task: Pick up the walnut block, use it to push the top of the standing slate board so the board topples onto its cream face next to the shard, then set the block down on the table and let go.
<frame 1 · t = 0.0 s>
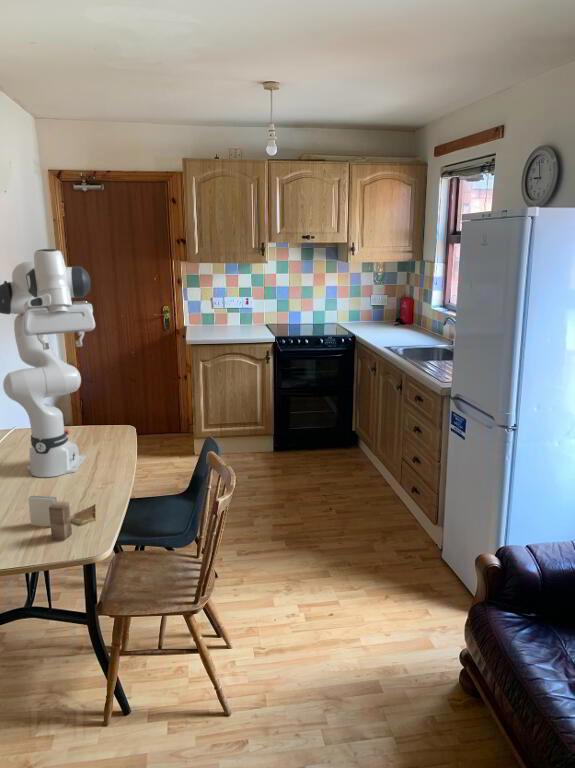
hand: (63, 347, 173), 52 cm above the table, tool tilted 20°, fingers open, 8 cm apart
slate board: (45, 525, 176), on the table
walnut block: (62, 536, 169), on the table
shard: (82, 518, 181), on the table
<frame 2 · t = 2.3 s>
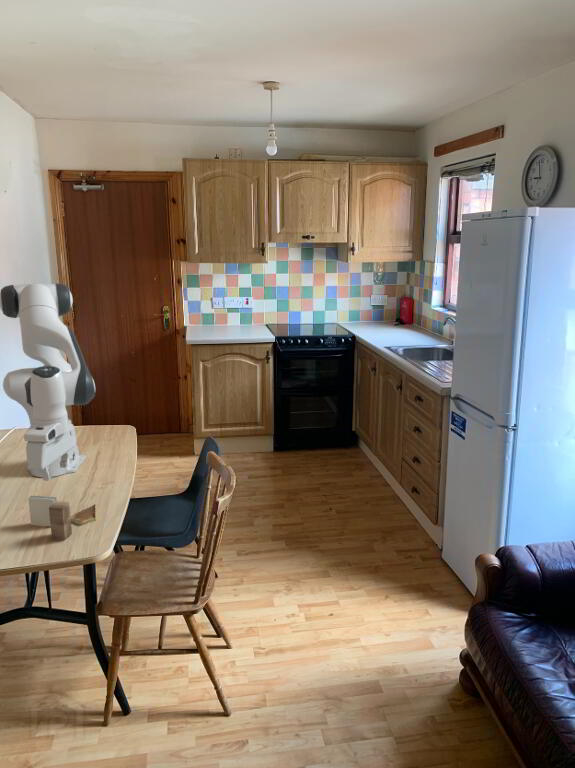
hand: (55, 473, 164), 20 cm above the table, tool pointing down, fingers open, 8 cm apart
nothing on the table moved.
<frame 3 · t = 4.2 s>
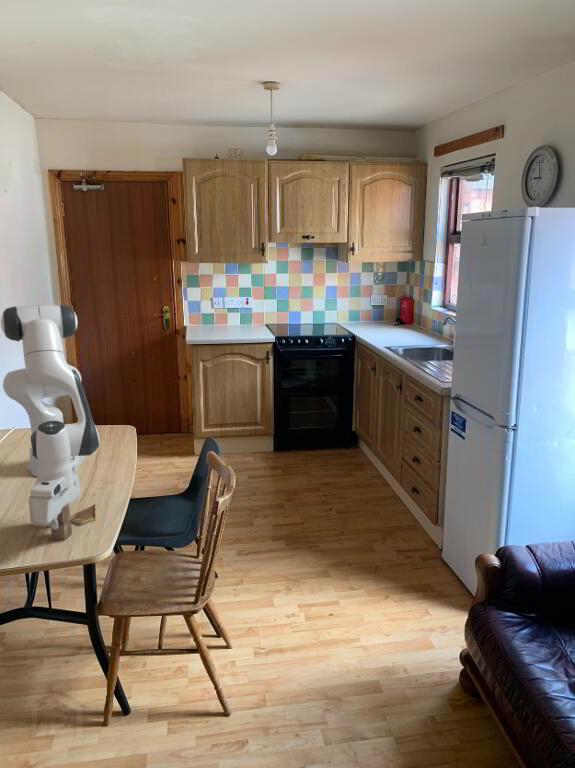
hand: (60, 523, 168), 4 cm above the table, tool pointing down, fingers closed on walnut block, 4 cm apart
walnut block: (62, 536, 169), on the table, touching gripper
everything else where it was.
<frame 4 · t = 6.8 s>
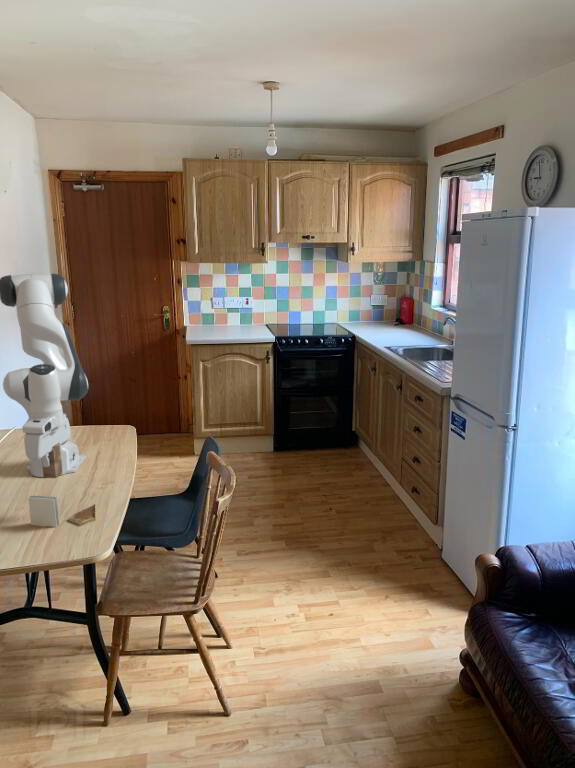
hand: (51, 462, 178), 17 cm above the table, tool pointing down, fingers closed on walnut block, 4 cm apart
walnut block: (53, 475, 179), point 13 cm above the table, touching gripper
everything else where it was.
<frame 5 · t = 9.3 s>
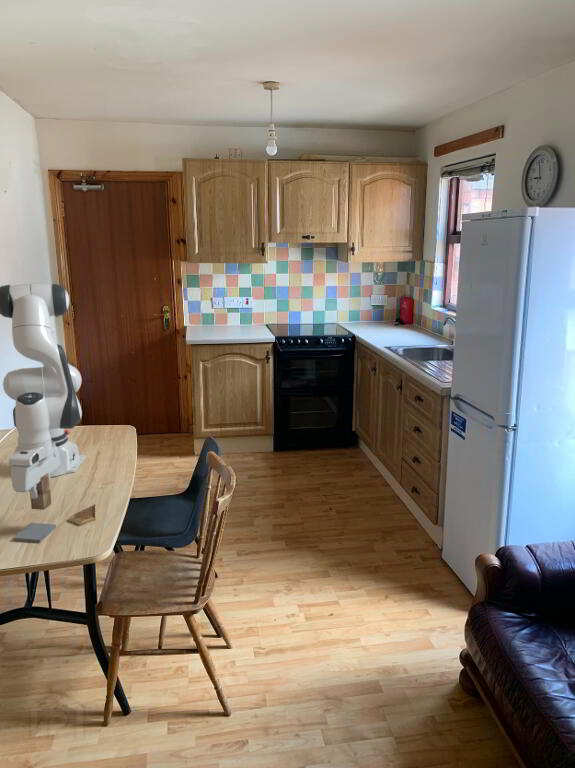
hand: (40, 493, 172), 11 cm above the table, tool pointing down, fingers closed on walnut block, 4 cm apart
slate board: (43, 525, 175), on the table, tilted 90°
walnut block: (41, 506, 173), point 7 cm above the table, touching gripper
everything else where it was.
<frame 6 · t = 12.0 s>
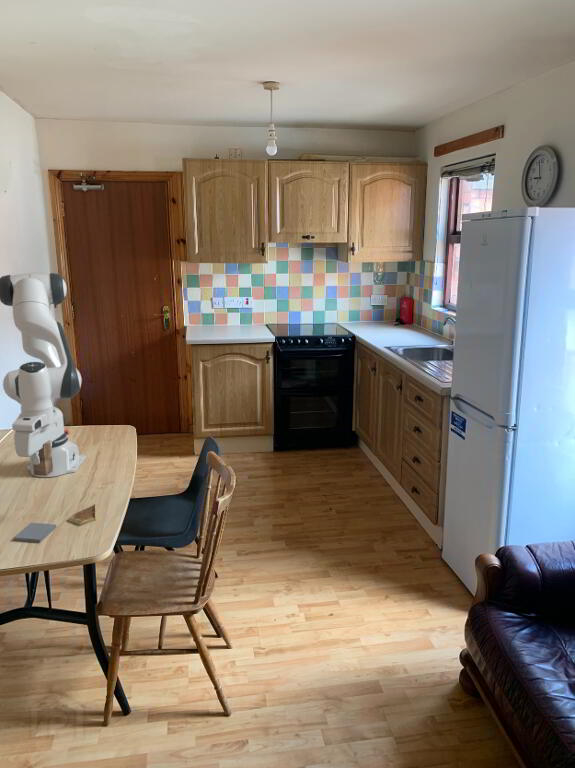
hand: (42, 460, 178), 18 cm above the table, tool pointing down, fingers closed on walnut block, 4 cm apart
walnut block: (43, 472, 179), point 14 cm above the table, touching gripper
everything else where it was.
when the fingers open (6 cm above the table, at t = 14.4 s): walnut block drops 2 cm, on the table.
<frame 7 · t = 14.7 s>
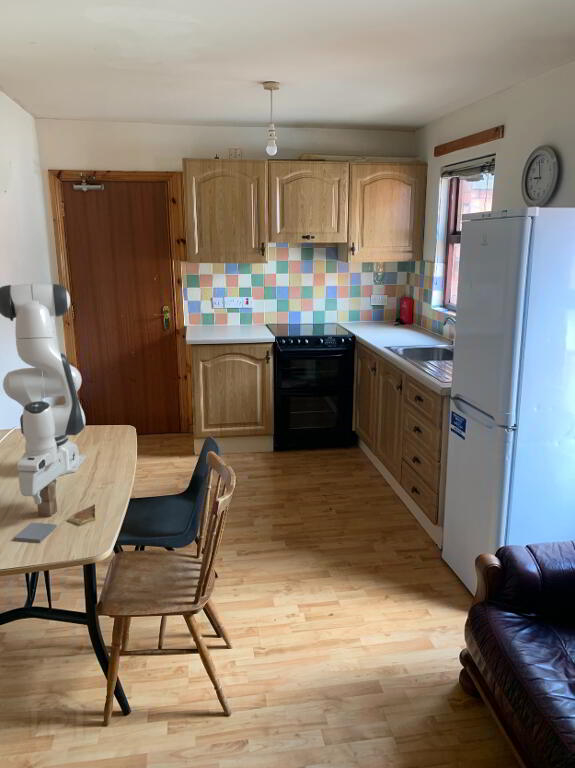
hand: (46, 497, 181), 6 cm above the table, tool pointing down, fingers open, 7 cm apart
walnut block: (48, 513, 183), on the table
everything else where it was.
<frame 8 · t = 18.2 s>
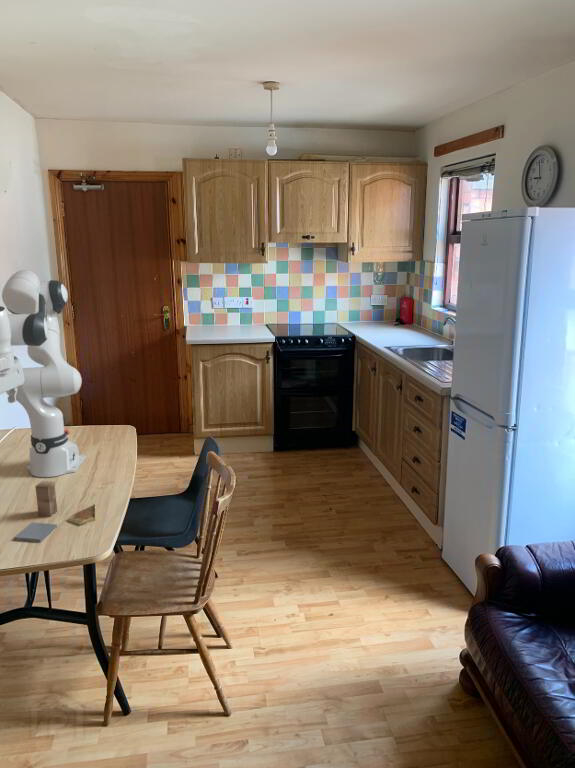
hand: (3, 406, 177), 34 cm above the table, tool pointing down, fingers open, 8 cm apart
nothing on the table moved.
at the end: slate board tilted 90°; the gripper is holding nothing; walnut block tilted 0° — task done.
